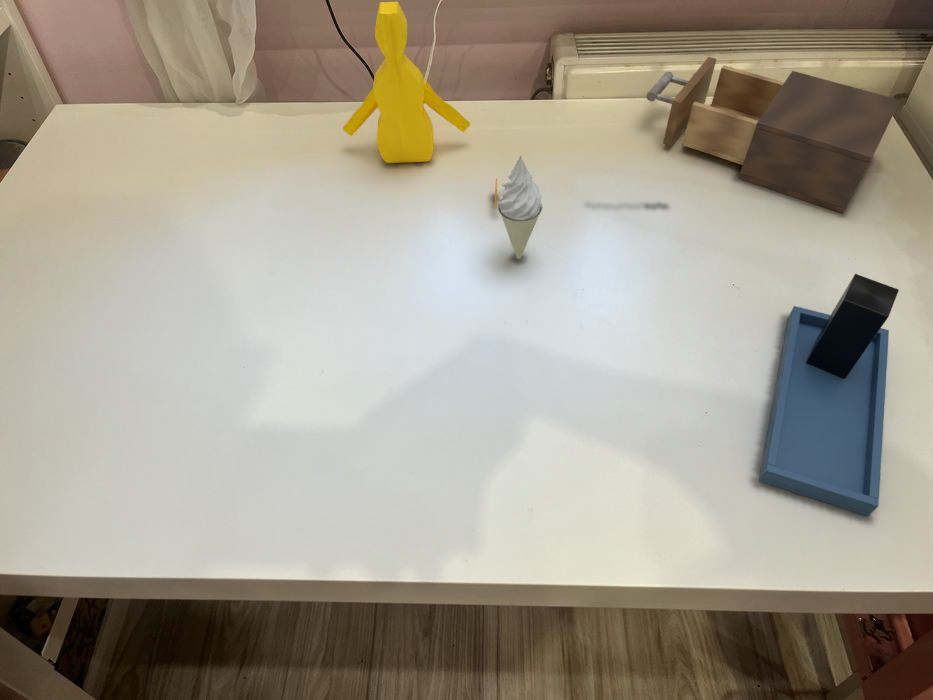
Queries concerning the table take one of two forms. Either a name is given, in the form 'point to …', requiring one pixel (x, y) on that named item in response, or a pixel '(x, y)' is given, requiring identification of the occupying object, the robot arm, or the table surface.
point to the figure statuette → (401, 97)
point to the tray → (827, 421)
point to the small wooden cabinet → (817, 140)
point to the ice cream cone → (520, 206)
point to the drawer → (717, 109)
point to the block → (852, 325)
